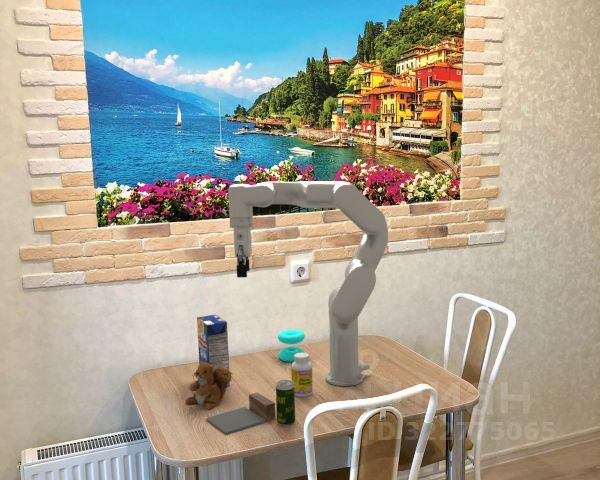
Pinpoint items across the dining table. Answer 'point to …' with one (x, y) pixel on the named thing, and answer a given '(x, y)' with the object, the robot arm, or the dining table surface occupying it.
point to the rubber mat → (235, 420)
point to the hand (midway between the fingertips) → (243, 274)
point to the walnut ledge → (262, 406)
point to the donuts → (290, 338)
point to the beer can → (285, 402)
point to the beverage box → (213, 341)
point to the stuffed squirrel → (209, 385)
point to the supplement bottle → (302, 375)
